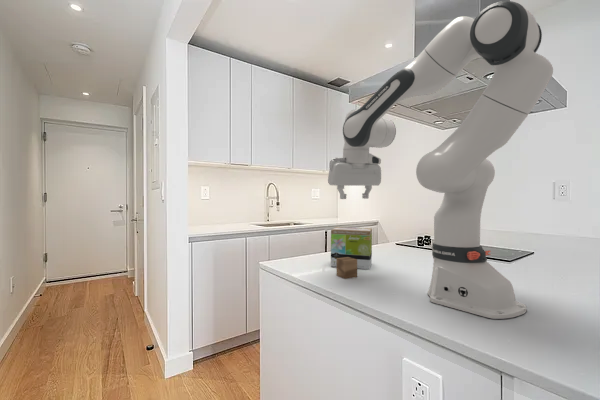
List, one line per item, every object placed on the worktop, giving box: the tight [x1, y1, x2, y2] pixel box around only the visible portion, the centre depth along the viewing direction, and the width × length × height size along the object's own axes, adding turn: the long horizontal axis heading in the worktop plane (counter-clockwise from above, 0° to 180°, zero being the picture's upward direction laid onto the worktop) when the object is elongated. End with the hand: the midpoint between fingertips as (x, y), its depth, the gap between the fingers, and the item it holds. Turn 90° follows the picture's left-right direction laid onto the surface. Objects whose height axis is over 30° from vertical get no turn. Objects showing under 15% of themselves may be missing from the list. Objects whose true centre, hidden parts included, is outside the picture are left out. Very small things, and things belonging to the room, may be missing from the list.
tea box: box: [330, 226, 373, 270], centre depth 122 cm, size 15×10×15 cm, turn 73°
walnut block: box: [336, 257, 358, 280], centre depth 106 cm, size 5×5×6 cm
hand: (354, 198), depth 108 cm, fingers open, 8 cm apart
